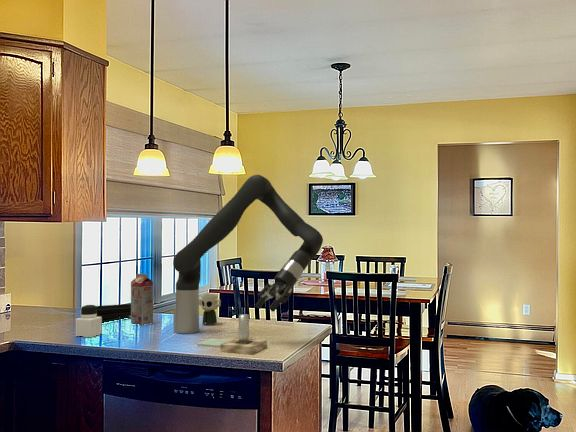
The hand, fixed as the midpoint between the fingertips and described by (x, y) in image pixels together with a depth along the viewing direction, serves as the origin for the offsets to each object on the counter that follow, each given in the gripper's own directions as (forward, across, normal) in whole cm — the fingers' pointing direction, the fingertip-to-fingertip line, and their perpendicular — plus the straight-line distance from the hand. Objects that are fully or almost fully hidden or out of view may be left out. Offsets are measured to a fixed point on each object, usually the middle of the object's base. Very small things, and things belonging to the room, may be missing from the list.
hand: (264, 308), depth 208 cm
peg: (+16, 0, +3) cm, 16 cm away
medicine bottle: (+40, -59, -20) cm, 74 cm away
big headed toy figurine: (+4, -51, +15) cm, 53 cm away
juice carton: (+20, -70, -1) cm, 73 cm away
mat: (+18, -15, +1) cm, 23 cm away
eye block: (+16, 0, +3) cm, 16 cm away
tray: (+25, -93, -6) cm, 97 cm away
